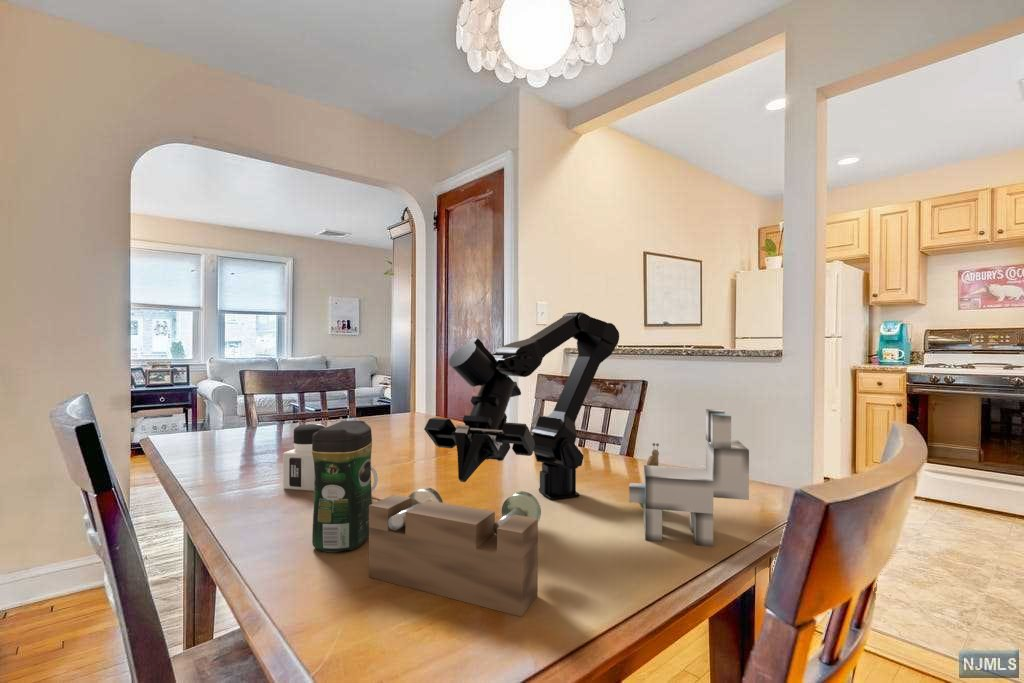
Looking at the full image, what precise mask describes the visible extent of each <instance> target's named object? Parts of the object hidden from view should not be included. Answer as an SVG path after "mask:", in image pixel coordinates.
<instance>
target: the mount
mask: <svg viewBox="0 0 1024 683" xmlns="http://www.w3.org/2000/svg"><path fill="white" fill-rule="evenodd" d="M409 507H411V497H408V496H405V495H398V494H391V495H389V496H386V497H384V498H382V499H380V500H378V501H375V502H372V504H371V505H369V537H368V578H372V579H374V580H378V581H382V582H386V583H389V584H394V585H398V586H402V587H405V588H409V589H413V590H417V591H421V592H425V593H429V594H432V595H436V596H439V597H440V596H441V597H444V598H446V599H447V598H449V599H450V600H451V599H452V600H455V601H460V602H464V603H467V604H471V605H475V606H479V607H482V608H487V609H491V610H494V611H499V612H502V613H505V614H510V615H514V616H517V617H522V616H524V614H525V613H526V611H527V610H528V609H529V608H530V606H531V605H532V604H533V603H534V601H535V600H536V599H537V597H538V596H539V595H538V594H539V593H538V592H539V590H538V588H539V587H538V586H539V584H538V583H539V580H538V579H539V574H538V573H539V565H538V564H539V549H538V548H539V544H538V543H539V541H538V540H539V535H538V534H539V522H538V518H532V517H526V516H520V515H514V516H513V517H511V518H510V519H509V520H507V521H506V522H505V523H504V524H502V525H501V526H500V527H498V528H497V535H496V534H495V533H494V531H493V525H494V524H495V523H496V510H495V511H494V510H488V509H482V508H476V507H470V506H465V505H458V504H452V503H446V502H443V503H441V502H435V501H429V500H428V501H426V502H424V503H422V504H420V505H418V506H416V507H414V508H412V509H410V510H408V511H406V517H405V526H403V527H401V528H400V529H398V530H395V531H394V530H392V529H391V528H390V527H389V525H388V520H389V518H390V517H391V516H393V515H395V514H397V513H399V512H401V511H403V510H405V509H407V508H409Z"/></svg>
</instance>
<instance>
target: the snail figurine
mask: <svg viewBox="0 0 1024 683" xmlns="http://www.w3.org/2000/svg"><path fill="white" fill-rule="evenodd" d="M651 444H652V447H655V446H656V447H657V449H655V448H654V449H653V450H652V451H651V455H649V457H648V458H647V462H646V465H650V466H659V455H660V452H659V451H658V450H659V448H658V447H659V446H660V444H659V443H658V442H657V443H655V442H653V443H651ZM638 504H639V505H640V507H641V508H642V509H643V510H644V503H638Z"/></svg>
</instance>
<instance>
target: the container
mask: <svg viewBox="0 0 1024 683" xmlns="http://www.w3.org/2000/svg"><path fill="white" fill-rule="evenodd" d="M325 427H326V426H325V425H323V424H320V423H306V424H301V425H298V426H295V427H294V429H293V449H290V450H288V451H284V452H283V454H282V455H283V456H282V459H283V460H282V464H283V465H282V466H283V468H282V469H283V470H282V471H283V472H282V473H283V477H282V478H283V479H282V481H283V482H282V483H283V484H282V485H283V489H284V490H297V491H309V492H310V491H311V492H314V478H315V473H314V460H313V455H312V442H313V439H312V436H313V434H314V433H315V432H317V431H319V430H320V429H322V428H325Z"/></svg>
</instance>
